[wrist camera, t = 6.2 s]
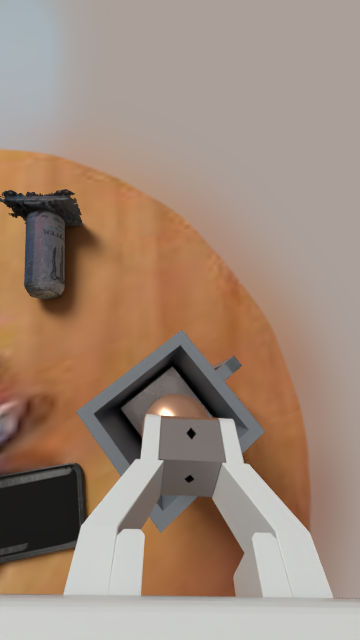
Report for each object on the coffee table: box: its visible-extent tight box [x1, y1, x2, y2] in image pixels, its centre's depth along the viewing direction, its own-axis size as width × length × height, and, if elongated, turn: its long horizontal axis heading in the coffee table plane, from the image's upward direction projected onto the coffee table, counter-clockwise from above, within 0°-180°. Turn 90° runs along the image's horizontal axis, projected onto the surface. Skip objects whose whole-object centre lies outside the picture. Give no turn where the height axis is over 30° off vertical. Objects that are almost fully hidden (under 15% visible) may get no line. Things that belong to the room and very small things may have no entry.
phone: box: [0, 463, 86, 563], centre depth 29 cm, size 8×1×15 cm
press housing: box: [76, 330, 265, 533], centre depth 26 cm, size 9×12×15 cm
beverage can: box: [0, 189, 82, 299], centre depth 34 cm, size 9×8×12 cm
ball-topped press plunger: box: [121, 367, 213, 441], centre depth 21 cm, size 6×6×14 cm
